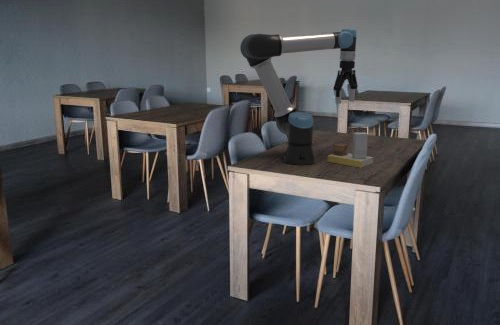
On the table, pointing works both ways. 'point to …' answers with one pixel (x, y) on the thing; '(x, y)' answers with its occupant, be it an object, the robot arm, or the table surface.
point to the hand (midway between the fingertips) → (345, 102)
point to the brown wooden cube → (340, 149)
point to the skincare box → (359, 145)
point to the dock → (350, 160)
